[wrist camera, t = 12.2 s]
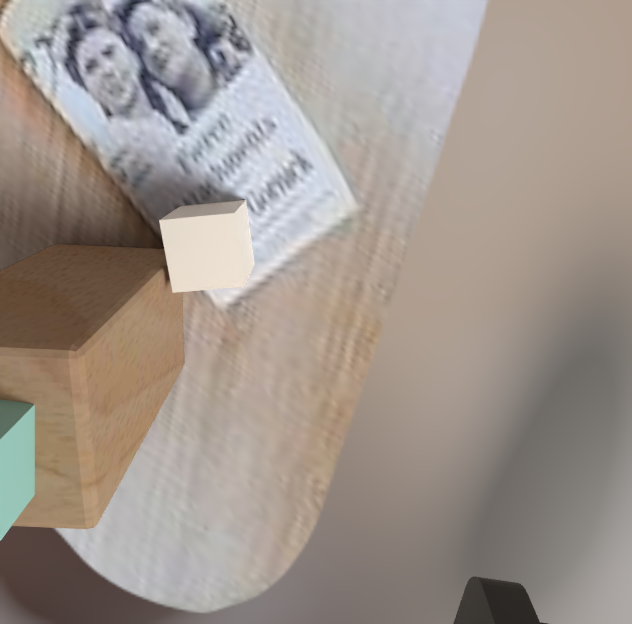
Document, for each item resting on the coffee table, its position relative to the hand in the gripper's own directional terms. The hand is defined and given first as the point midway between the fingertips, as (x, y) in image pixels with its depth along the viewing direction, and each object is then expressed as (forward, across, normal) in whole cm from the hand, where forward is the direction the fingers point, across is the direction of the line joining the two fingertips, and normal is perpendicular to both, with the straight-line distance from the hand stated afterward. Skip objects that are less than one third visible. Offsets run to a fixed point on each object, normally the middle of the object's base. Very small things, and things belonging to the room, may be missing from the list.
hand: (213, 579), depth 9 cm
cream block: (+36, +6, +3) cm, 37 cm away
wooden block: (+36, +13, +10) cm, 40 cm away
